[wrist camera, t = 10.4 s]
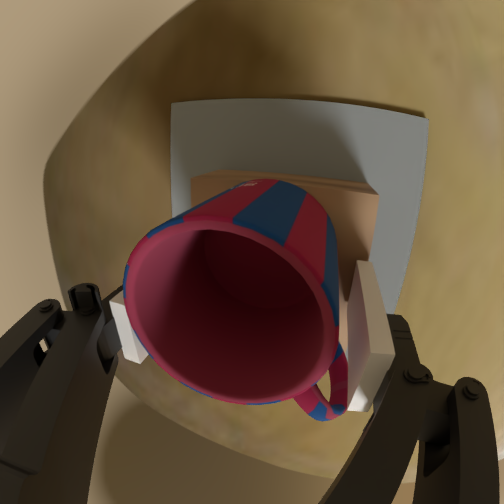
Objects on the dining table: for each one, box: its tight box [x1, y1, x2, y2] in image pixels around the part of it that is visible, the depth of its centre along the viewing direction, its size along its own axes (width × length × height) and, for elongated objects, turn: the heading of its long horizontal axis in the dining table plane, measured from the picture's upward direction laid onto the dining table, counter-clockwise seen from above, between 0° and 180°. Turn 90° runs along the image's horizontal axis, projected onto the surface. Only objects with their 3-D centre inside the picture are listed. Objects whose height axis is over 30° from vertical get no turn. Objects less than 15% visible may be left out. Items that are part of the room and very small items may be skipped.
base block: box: [191, 170, 379, 353], centre depth 16 cm, size 9×9×4 cm
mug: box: [123, 179, 348, 421], centre depth 11 cm, size 7×10×7 cm
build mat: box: [171, 98, 429, 361], centre depth 18 cm, size 18×16×1 cm
